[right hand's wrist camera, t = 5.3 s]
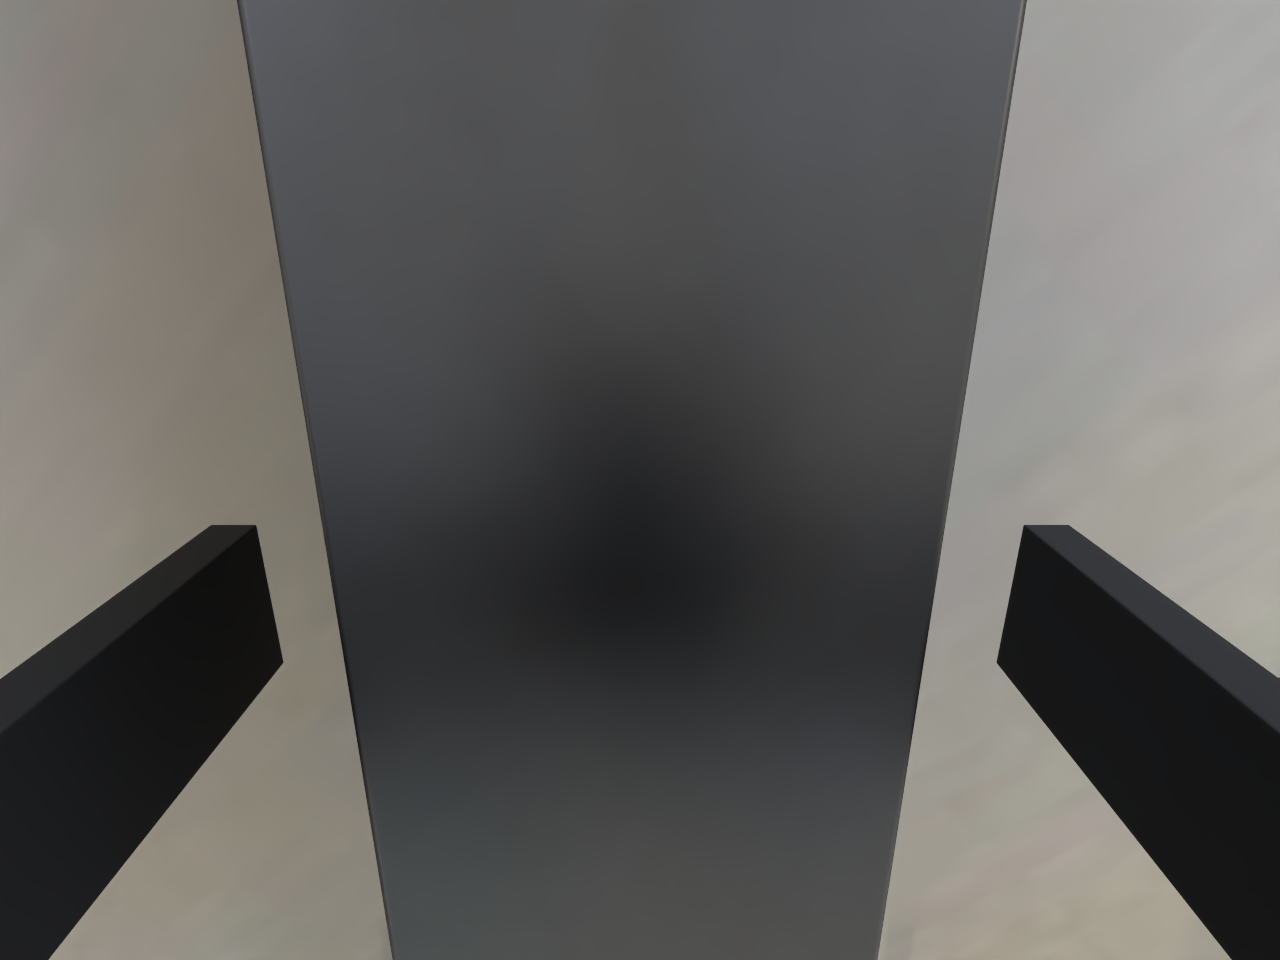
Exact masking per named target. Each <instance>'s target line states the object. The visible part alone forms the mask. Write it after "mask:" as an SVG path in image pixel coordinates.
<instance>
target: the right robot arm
mask: <svg viewBox="0 0 1280 960" xmlns="http://www.w3.org/2000/svg"><path fill="white" fill-rule="evenodd" d="M282 664H283V658H282V653H281V648H280V643H279V638H278V633H277V628H276V623H275V618H274V613H273V608H272V603H271V598H270V593H269V588H268V583H267V578H266V573H265V567H264V562H263V557H262V552H261V547H260V542H259V537H258V532H257V527H256V525H211V526H209V527H208V528H207V529H205V530H204V531H203V532H201V533H200V534H198V535H197V536H196V537H194V538H193V539H192V540H190V541H189V542H188V543H186V544H185V545H183V546H182V547H181V548H179V549H178V550H177V551H175V552H174V553H172V554H171V555H170V556H168V557H167V558H166V559H164V560H163V561H162V562H160V563H159V564H157V565H156V566H155V567H153V568H152V569H151V570H149V571H148V572H146V573H145V574H144V575H142V576H141V577H140V578H138V579H137V580H136V581H134V582H133V583H131V584H130V585H129V586H127V587H126V588H125V589H123V590H122V591H120V592H119V593H118V594H116V595H115V596H114V597H112V598H111V599H110V600H108V601H107V602H105V603H104V604H103V605H101V606H100V607H99V608H97V609H96V610H94V611H93V612H92V613H90V614H89V615H88V616H86V617H85V618H83V619H82V620H81V621H79V622H78V623H77V624H75V625H74V626H73V627H71V628H70V629H68V630H67V631H66V632H64V633H63V634H62V635H60V636H59V637H57V638H56V639H55V640H53V641H52V642H51V643H49V644H48V645H47V646H45V647H44V648H42V649H41V650H40V651H38V652H37V653H36V654H34V655H33V656H31V657H30V658H29V659H27V660H26V661H25V662H23V663H22V664H21V665H19V666H18V667H16V668H15V669H14V670H12V671H11V672H10V673H8V674H7V675H5V676H4V677H3V678H1V679H0V960H48V959H49V958H50V957H51V955H52V954H53V953H54V952H55V950H56V949H57V948H58V947H59V945H60V944H61V943H62V942H63V940H64V939H65V938H66V937H67V935H68V934H69V933H70V931H71V930H72V929H73V928H74V926H75V925H76V924H77V923H78V921H79V920H80V919H81V918H82V916H83V915H84V914H85V913H86V911H87V910H88V909H89V907H90V906H91V905H92V904H93V902H94V901H95V900H96V899H97V897H98V896H99V895H100V894H101V892H102V891H103V890H104V888H105V887H106V886H107V885H108V883H109V882H110V881H111V880H112V878H113V877H114V876H115V875H116V873H117V872H118V871H119V870H120V868H121V867H122V866H123V864H124V863H125V862H126V861H127V859H128V858H129V857H130V856H131V854H132V853H133V852H134V851H135V849H136V848H137V847H138V846H139V844H140V843H141V842H142V840H143V839H144V838H145V837H146V835H147V834H148V833H149V832H150V830H151V829H152V828H153V827H154V825H155V824H156V823H157V822H158V820H159V819H160V818H161V816H162V815H163V814H164V813H165V811H166V810H167V809H168V808H169V806H170V805H171V804H172V803H173V801H174V800H175V799H176V798H177V796H178V795H179V794H180V792H181V791H182V790H183V789H184V787H185V786H186V785H187V784H188V782H189V781H190V780H191V779H192V777H193V776H194V775H195V774H196V772H197V771H198V770H199V768H200V767H201V766H202V765H203V763H204V762H205V761H206V760H207V758H208V757H209V756H210V755H211V753H212V752H213V751H214V750H215V748H216V747H217V746H218V744H219V743H220V742H221V741H222V739H223V738H224V737H225V736H226V734H227V733H228V732H229V731H230V729H231V728H232V727H233V726H234V724H235V723H236V722H237V720H238V719H239V718H240V717H241V715H242V714H243V713H244V712H245V710H246V709H247V708H248V707H249V705H250V704H251V703H252V702H253V700H254V699H255V698H256V696H257V695H258V694H259V693H260V691H261V690H262V689H263V688H264V686H265V685H266V684H267V683H268V681H269V680H270V679H271V678H272V676H273V675H274V674H275V672H276V671H277V670H278V669H279V667H280V666H281V665H282ZM997 664H998V665H999V666H1000V667H1001V669H1002V670H1003V671H1004V672H1005V674H1006V675H1007V676H1008V678H1009V679H1010V680H1011V681H1012V683H1013V684H1014V685H1015V686H1016V688H1017V689H1018V690H1019V691H1020V693H1021V694H1022V695H1023V696H1024V698H1025V699H1026V700H1027V702H1028V703H1029V704H1030V705H1031V707H1032V708H1033V709H1034V710H1035V712H1036V713H1037V714H1038V715H1039V717H1040V718H1041V719H1042V720H1043V722H1044V723H1045V724H1046V726H1047V727H1048V728H1049V729H1050V731H1051V732H1052V733H1053V734H1054V736H1055V737H1056V738H1057V739H1058V741H1059V742H1060V743H1061V744H1062V746H1063V747H1064V748H1065V750H1066V751H1067V752H1068V753H1069V755H1070V756H1071V757H1072V758H1073V760H1074V761H1075V762H1076V763H1077V765H1078V766H1079V767H1080V768H1081V770H1082V771H1083V772H1084V774H1085V775H1086V776H1087V777H1088V779H1089V780H1090V781H1091V782H1092V784H1093V785H1094V786H1095V787H1096V789H1097V790H1098V791H1099V792H1100V794H1101V795H1102V796H1103V798H1104V799H1105V800H1106V801H1107V803H1108V804H1109V805H1110V806H1111V808H1112V809H1113V810H1114V811H1115V813H1116V814H1117V815H1118V816H1119V818H1120V819H1121V820H1122V822H1123V823H1124V824H1125V825H1126V827H1127V828H1128V829H1129V830H1130V832H1131V833H1132V834H1133V835H1134V837H1135V838H1136V839H1137V840H1138V842H1139V843H1140V844H1141V846H1142V847H1143V848H1144V849H1145V851H1146V852H1147V853H1148V854H1149V856H1150V857H1151V858H1152V859H1153V861H1154V862H1155V863H1156V864H1157V866H1158V867H1159V868H1160V870H1161V871H1162V872H1163V873H1164V875H1165V876H1166V877H1167V878H1168V880H1169V881H1170V882H1171V883H1172V885H1173V886H1174V887H1175V889H1176V890H1177V891H1178V892H1179V894H1180V895H1181V896H1182V897H1183V899H1184V900H1185V901H1186V902H1187V904H1188V905H1189V906H1190V907H1191V909H1192V910H1193V911H1194V913H1195V914H1196V915H1197V916H1198V918H1199V919H1200V920H1201V921H1202V923H1203V924H1204V925H1205V926H1206V928H1207V929H1208V930H1209V931H1210V933H1211V934H1212V935H1213V937H1214V938H1215V939H1216V940H1217V942H1218V943H1219V944H1220V945H1221V947H1222V948H1223V949H1224V950H1225V952H1226V953H1227V954H1228V955H1229V957H1230V958H1231V959H1232V960H1280V678H1277V677H1276V676H1275V675H1273V674H1272V673H1270V672H1269V671H1268V670H1266V669H1265V668H1264V667H1262V666H1261V665H1259V664H1258V663H1257V662H1255V661H1254V660H1253V659H1251V658H1250V657H1249V656H1247V655H1246V654H1244V653H1243V652H1242V651H1240V650H1239V649H1238V648H1236V647H1235V646H1233V645H1232V644H1231V643H1229V642H1228V641H1227V640H1225V639H1224V638H1223V637H1221V636H1220V635H1218V634H1217V633H1216V632H1214V631H1213V630H1212V629H1210V628H1209V627H1207V626H1206V625H1205V624H1203V623H1202V622H1201V621H1199V620H1198V619H1197V618H1195V617H1194V616H1192V615H1191V614H1190V613H1188V612H1187V611H1186V610H1184V609H1183V608H1181V607H1180V606H1179V605H1177V604H1176V603H1175V602H1173V601H1172V600H1170V599H1169V598H1168V597H1166V596H1165V595H1164V594H1162V593H1161V592H1160V591H1158V590H1157V589H1155V588H1154V587H1153V586H1151V585H1150V584H1149V583H1147V582H1146V581H1144V580H1143V579H1142V578H1140V577H1139V576H1138V575H1136V574H1135V573H1134V572H1132V571H1131V570H1129V569H1128V568H1127V567H1125V566H1124V565H1123V564H1121V563H1120V562H1118V561H1117V560H1116V559H1114V558H1113V557H1112V556H1110V555H1109V554H1108V553H1106V552H1105V551H1103V550H1102V549H1101V548H1099V547H1098V546H1097V545H1095V544H1094V543H1092V542H1091V541H1090V540H1088V539H1087V538H1086V537H1084V536H1083V535H1082V534H1080V533H1079V532H1077V531H1076V530H1075V529H1073V528H1072V527H1071V526H1069V525H1024V527H1023V532H1022V537H1021V542H1020V547H1019V552H1018V557H1017V562H1016V567H1015V572H1014V578H1013V583H1012V588H1011V593H1010V598H1009V603H1008V608H1007V613H1006V618H1005V623H1004V628H1003V633H1002V638H1001V643H1000V648H999V653H998V658H997Z"/></svg>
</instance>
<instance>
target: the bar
mask: <svg viewBox="0 0 1280 960" xmlns="http://www.w3.org/2000/svg"><path fill="white" fill-rule="evenodd" d="M1026 2H1027V0H237V3H238V9H239V15H240V21H241V27H242V34H243V40H244V46H245V52H246V58H247V64H248V71H249V77H250V83H251V89H252V95H253V101H254V107H255V114H256V120H257V126H258V132H259V138H260V144H261V151H262V157H263V163H264V169H265V175H266V181H267V188H268V194H269V200H270V206H271V212H272V218H273V225H274V231H275V237H276V243H277V249H278V255H279V262H280V268H281V274H282V280H283V286H284V292H285V298H286V305H287V311H288V317H289V323H290V329H291V335H292V342H293V348H294V354H295V360H296V366H297V372H298V379H299V385H300V391H301V397H302V403H303V409H304V416H305V422H306V428H307V434H308V440H309V446H310V453H311V459H312V465H313V471H314V477H315V483H316V489H317V496H318V502H319V508H320V514H321V520H322V526H323V533H324V539H325V545H326V551H327V557H328V563H329V570H330V576H331V582H332V588H333V594H334V600H335V607H336V613H337V619H338V625H339V631H340V637H341V644H342V650H343V656H344V662H345V668H346V674H347V680H348V687H349V693H350V699H351V705H352V711H353V717H354V724H355V730H356V736H357V742H358V748H359V754H360V761H361V767H362V773H363V779H364V785H365V791H366V798H367V804H368V810H369V816H370V822H371V828H372V835H373V841H374V847H375V853H376V859H377V865H378V871H379V878H380V884H381V890H382V896H383V902H384V908H385V915H386V921H387V927H388V933H389V939H390V945H391V952H392V958H393V960H877V958H878V952H879V945H880V939H881V933H882V926H883V920H884V913H885V907H886V900H887V894H888V888H889V881H890V875H891V868H892V862H893V856H894V849H895V843H896V836H897V830H898V823H899V817H900V811H901V804H902V798H903V791H904V785H905V778H906V772H907V766H908V759H909V753H910V746H911V740H912V734H913V727H914V721H915V714H916V708H917V701H918V695H919V689H920V682H921V676H922V669H923V663H924V656H925V650H926V644H927V637H928V631H929V624H930V618H931V612H932V605H933V599H934V592H935V586H936V579H937V573H938V567H939V560H940V554H941V547H942V541H943V534H944V528H945V522H946V515H947V509H948V502H949V496H950V490H951V483H952V477H953V470H954V464H955V457H956V451H957V445H958V438H959V432H960V425H961V419H962V412H963V406H964V400H965V393H966V387H967V380H968V374H969V368H970V361H971V355H972V348H973V342H974V335H975V329H976V323H977V316H978V310H979V303H980V297H981V290H982V284H983V278H984V271H985V265H986V258H987V252H988V246H989V239H990V233H991V226H992V220H993V213H994V207H995V201H996V194H997V188H998V181H999V175H1000V168H1001V162H1002V156H1003V149H1004V143H1005V136H1006V130H1007V124H1008V117H1009V111H1010V104H1011V98H1012V91H1013V85H1014V79H1015V72H1016V66H1017V59H1018V53H1019V46H1020V40H1021V34H1022V27H1023V21H1024V14H1025V8H1026Z"/></svg>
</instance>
